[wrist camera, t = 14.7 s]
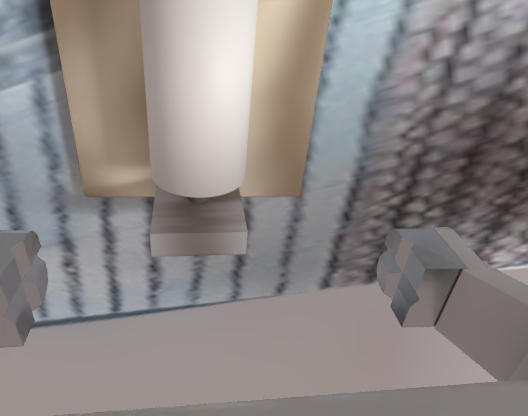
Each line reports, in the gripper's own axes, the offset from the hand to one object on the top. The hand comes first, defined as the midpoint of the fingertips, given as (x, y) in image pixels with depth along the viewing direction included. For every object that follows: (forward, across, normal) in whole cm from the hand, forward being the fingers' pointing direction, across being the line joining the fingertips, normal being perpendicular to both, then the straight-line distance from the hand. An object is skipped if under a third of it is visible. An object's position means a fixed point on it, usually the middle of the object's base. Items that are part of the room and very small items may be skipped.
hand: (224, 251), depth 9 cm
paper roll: (+15, +1, 0) cm, 15 cm away
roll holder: (+16, -1, 0) cm, 16 cm away
